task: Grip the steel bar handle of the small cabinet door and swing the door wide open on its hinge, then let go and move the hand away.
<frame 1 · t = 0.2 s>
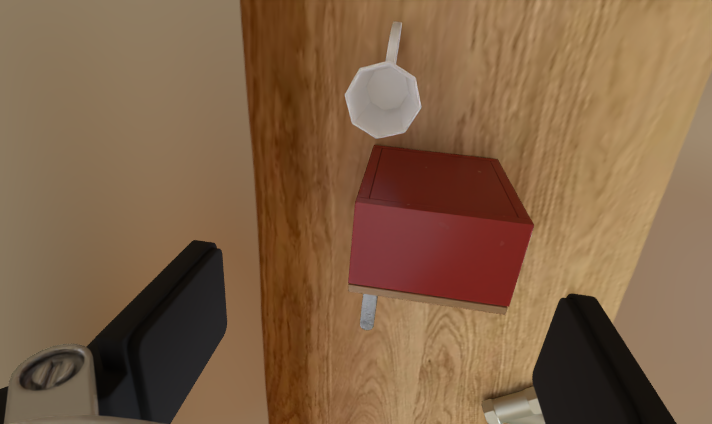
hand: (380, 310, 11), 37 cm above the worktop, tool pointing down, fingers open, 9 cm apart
pipe fitting: (514, 401, 62), on the worktop
cup: (390, 72, 44), on the worktop
cabinet door: (420, 277, 45), point 8 cm above the worktop, hinge at 0.0°
valve cabinet: (429, 184, 48), on the worktop
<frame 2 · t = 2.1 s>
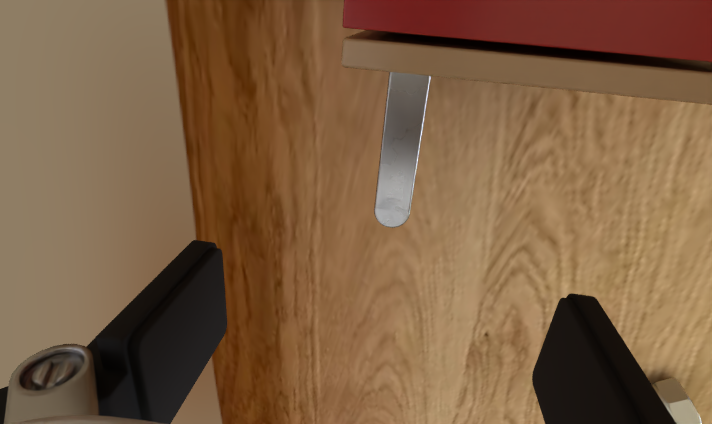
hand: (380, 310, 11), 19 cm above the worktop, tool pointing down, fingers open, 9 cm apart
pipe fitting: (628, 404, 36), on the worktop
cabinet door: (510, 122, 19), point 8 cm above the worktop, hinge at 0.0°
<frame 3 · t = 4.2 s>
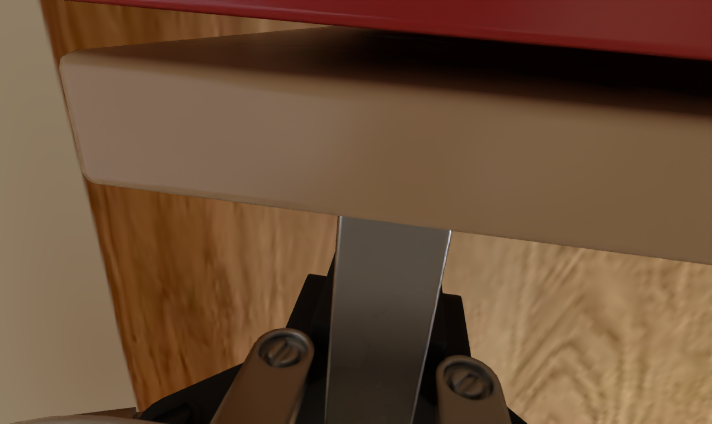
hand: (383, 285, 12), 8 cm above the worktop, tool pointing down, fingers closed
cabinet door: (598, 206, 10), point 8 cm above the worktop, hinge at 0.0°, touching gripper
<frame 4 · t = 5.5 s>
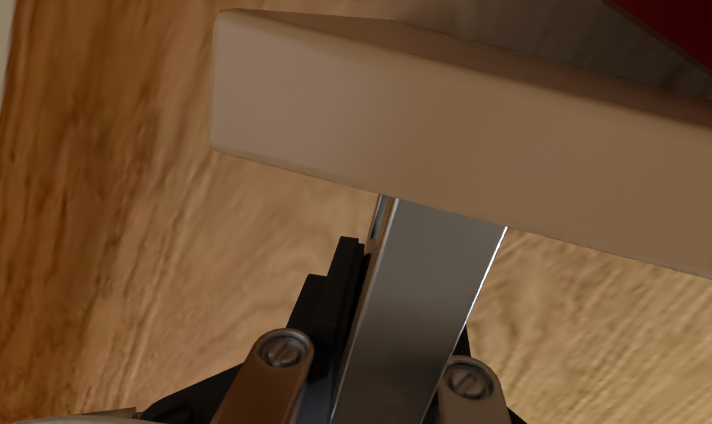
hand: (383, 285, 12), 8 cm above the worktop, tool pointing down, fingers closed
cabinet door: (602, 231, 10), point 8 cm above the worktop, hinge at 17.1°, touching gripper
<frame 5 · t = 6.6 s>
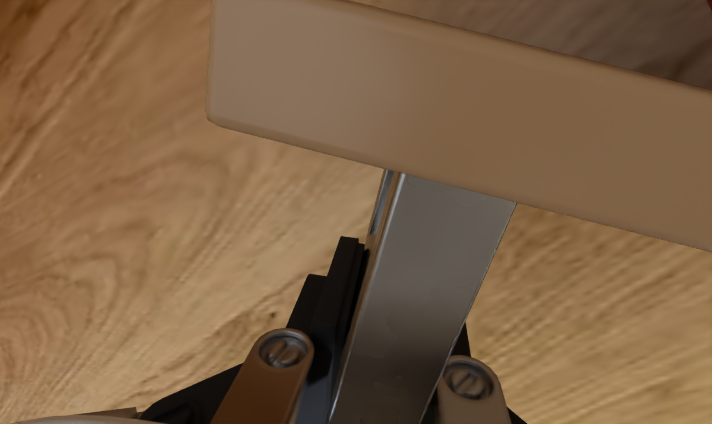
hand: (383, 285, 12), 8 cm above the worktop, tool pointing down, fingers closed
cabinet door: (604, 225, 10), point 8 cm above the worktop, hinge at 39.4°, touching gripper
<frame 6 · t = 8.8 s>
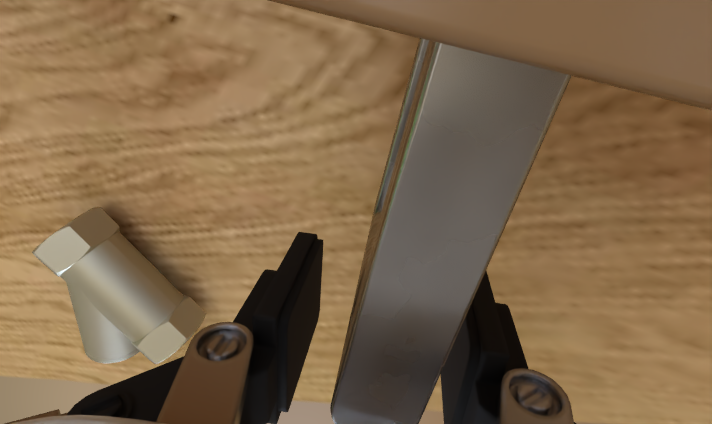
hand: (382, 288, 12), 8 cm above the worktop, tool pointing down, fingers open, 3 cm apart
pipe fitting: (132, 277, 24), on the worktop
cabinet door: (619, 199, 10), point 8 cm above the worktop, hinge at 77.1°
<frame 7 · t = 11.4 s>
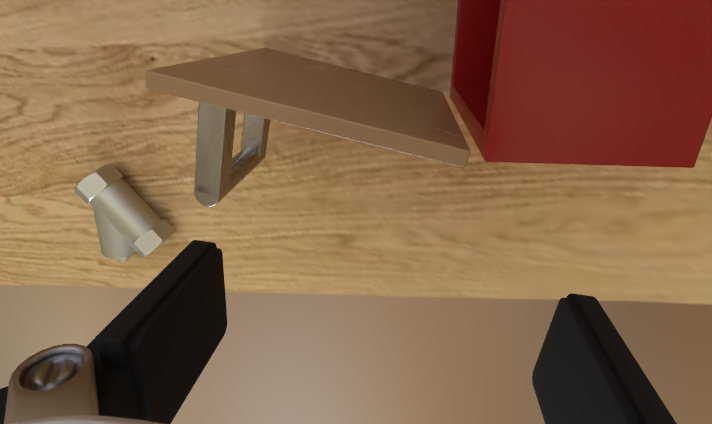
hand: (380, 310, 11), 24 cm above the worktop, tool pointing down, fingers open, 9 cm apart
pipe fitting: (130, 210, 39), on the worktop
cabinet door: (326, 140, 26), point 8 cm above the worktop, hinge at 77.1°
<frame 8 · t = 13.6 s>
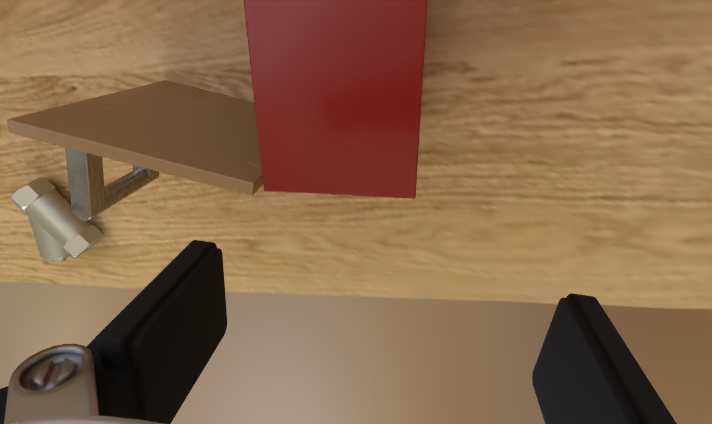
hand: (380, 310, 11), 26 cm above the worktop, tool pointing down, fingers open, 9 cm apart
pipe fitting: (66, 217, 45), on the worktop
cabinet door: (196, 164, 31), point 8 cm above the worktop, hinge at 77.1°
valve cabinet: (370, 37, 33), on the worktop
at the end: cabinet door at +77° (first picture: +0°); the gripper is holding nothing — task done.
